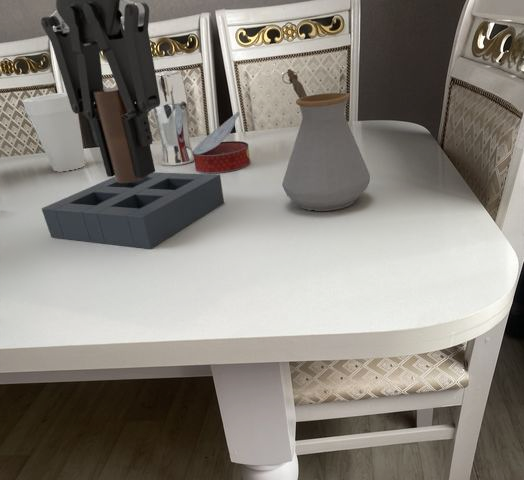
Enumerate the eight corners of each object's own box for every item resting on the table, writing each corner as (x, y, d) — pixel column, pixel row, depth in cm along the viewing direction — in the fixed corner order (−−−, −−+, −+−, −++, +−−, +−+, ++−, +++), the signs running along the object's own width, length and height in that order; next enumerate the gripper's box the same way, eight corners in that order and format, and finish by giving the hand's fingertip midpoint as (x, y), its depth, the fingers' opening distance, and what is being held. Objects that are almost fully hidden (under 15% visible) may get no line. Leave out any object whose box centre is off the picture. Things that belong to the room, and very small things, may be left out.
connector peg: (109, 182, 64) (85, 93, 59) (130, 173, 67) (109, 87, 62) (134, 183, 63) (112, 91, 57) (155, 174, 65) (135, 85, 60)
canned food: (239, 197, 92) (221, 152, 83) (192, 188, 96) (171, 144, 88) (266, 151, 96) (252, 104, 87) (220, 144, 100) (203, 98, 91)
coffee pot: (384, 206, 67) (386, 74, 58) (296, 222, 65) (287, 89, 57) (330, 168, 84) (326, 63, 76) (260, 180, 83) (249, 74, 75)
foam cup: (101, 159, 108) (82, 90, 101) (80, 172, 101) (59, 98, 94) (59, 162, 110) (38, 95, 103) (36, 175, 103) (12, 103, 96)
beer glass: (174, 156, 104) (158, 71, 96) (204, 156, 101) (190, 68, 93) (153, 166, 99) (134, 77, 90) (184, 166, 96) (167, 74, 88)
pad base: (51, 237, 71) (41, 208, 68) (132, 197, 83) (126, 171, 81) (151, 249, 63) (143, 216, 61) (224, 202, 75) (220, 174, 73)
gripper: (-15, -53, 53) (59, 180, 66) (113, -86, 45) (168, 185, 58) (42, -52, 58) (100, 164, 71) (164, -81, 51) (205, 166, 63)
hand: (131, 173), depth 65 cm, fingers closed on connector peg, 4 cm apart
